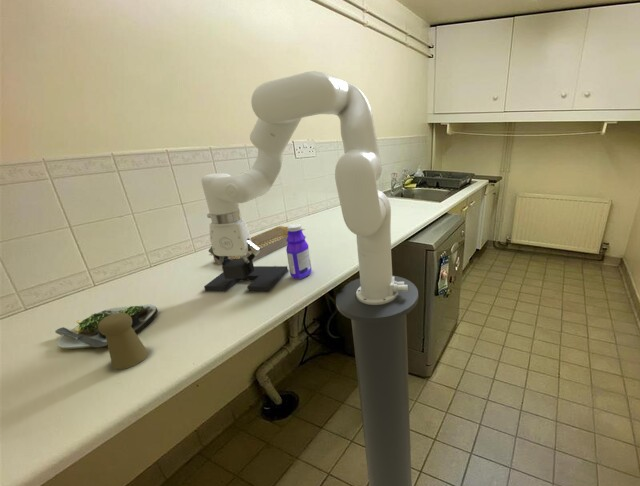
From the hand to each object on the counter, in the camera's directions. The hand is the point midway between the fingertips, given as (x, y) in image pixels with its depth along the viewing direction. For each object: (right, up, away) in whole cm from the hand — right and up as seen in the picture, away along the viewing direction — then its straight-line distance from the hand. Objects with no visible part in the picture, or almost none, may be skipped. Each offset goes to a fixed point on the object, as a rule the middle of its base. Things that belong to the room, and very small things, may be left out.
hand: (239, 272), depth 96 cm
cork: (-8, -16, -28) cm, 34 cm away
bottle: (+17, -2, +8) cm, 18 cm away
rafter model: (-7, +6, +31) cm, 32 cm away
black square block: (0, -1, 0) cm, 1 cm away
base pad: (0, -3, +5) cm, 6 cm away
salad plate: (-22, -13, -18) cm, 31 cm away
